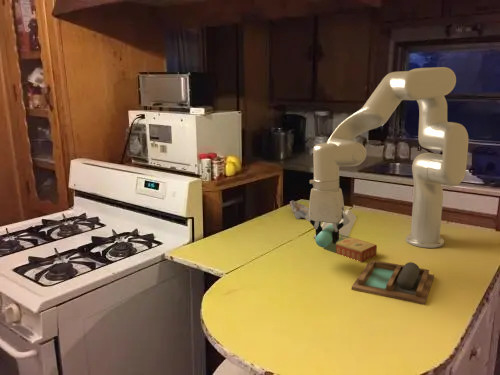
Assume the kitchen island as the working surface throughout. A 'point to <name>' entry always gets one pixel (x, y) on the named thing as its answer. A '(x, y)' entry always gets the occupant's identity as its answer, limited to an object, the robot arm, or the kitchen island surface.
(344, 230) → the crown molding
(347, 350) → the kitchen island surface
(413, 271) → the dark gray cylinder
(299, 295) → the kitchen island surface
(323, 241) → the mint green cylinder
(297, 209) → the stone
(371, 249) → the carton
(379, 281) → the rack
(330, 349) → the kitchen island surface
